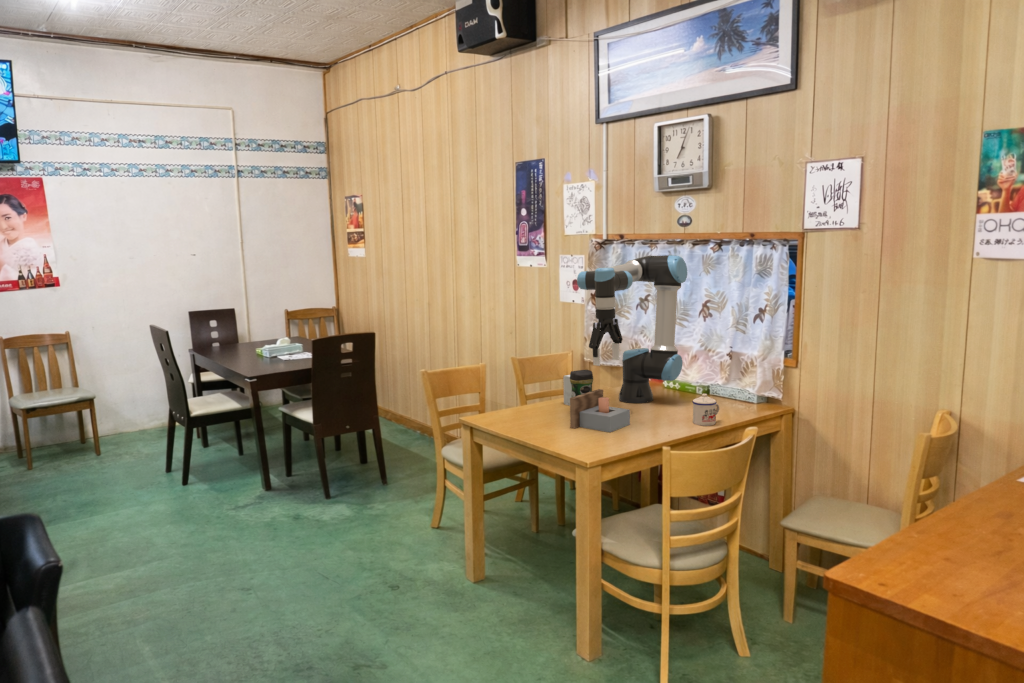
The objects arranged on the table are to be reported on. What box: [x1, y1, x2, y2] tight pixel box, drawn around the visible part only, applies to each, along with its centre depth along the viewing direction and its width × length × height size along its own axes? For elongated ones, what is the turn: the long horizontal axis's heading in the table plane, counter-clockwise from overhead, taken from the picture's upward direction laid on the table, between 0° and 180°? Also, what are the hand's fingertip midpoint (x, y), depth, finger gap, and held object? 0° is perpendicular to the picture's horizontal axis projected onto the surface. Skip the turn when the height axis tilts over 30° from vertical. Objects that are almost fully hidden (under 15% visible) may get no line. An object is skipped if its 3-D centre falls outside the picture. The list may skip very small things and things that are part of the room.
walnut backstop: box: [569, 388, 604, 429], centre depth 285 cm, size 20×2×12 cm, turn 139°
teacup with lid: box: [692, 393, 720, 427], centre depth 280 cm, size 12×9×12 cm
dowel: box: [598, 396, 610, 413], centre depth 279 cm, size 4×4×10 cm
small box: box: [562, 374, 572, 407], centre depth 319 cm, size 8×6×13 cm
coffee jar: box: [569, 369, 594, 398], centre depth 300 cm, size 10×8×19 cm
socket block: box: [579, 406, 631, 433], centre depth 280 cm, size 14×14×6 cm
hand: (606, 362), depth 280 cm, fingers open, 13 cm apart
